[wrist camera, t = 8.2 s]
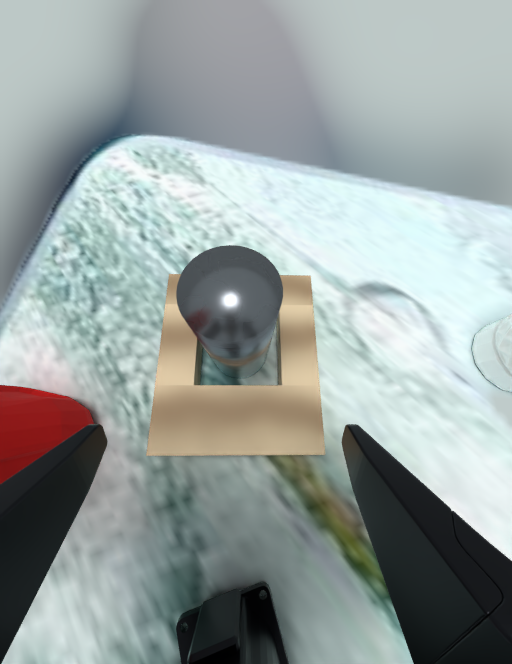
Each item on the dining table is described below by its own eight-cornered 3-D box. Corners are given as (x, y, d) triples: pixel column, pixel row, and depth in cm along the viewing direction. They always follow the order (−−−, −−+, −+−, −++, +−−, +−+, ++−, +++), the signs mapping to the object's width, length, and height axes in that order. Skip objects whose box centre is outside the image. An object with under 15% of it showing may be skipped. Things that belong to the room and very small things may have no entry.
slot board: (316, 450, 20) (325, 454, 18) (158, 450, 20) (146, 455, 18) (304, 288, 25) (310, 275, 23) (176, 287, 25) (169, 274, 22)
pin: (273, 369, 22) (298, 323, 11) (220, 385, 22) (189, 355, 11) (257, 320, 24) (264, 235, 13) (207, 334, 23) (166, 259, 12)
